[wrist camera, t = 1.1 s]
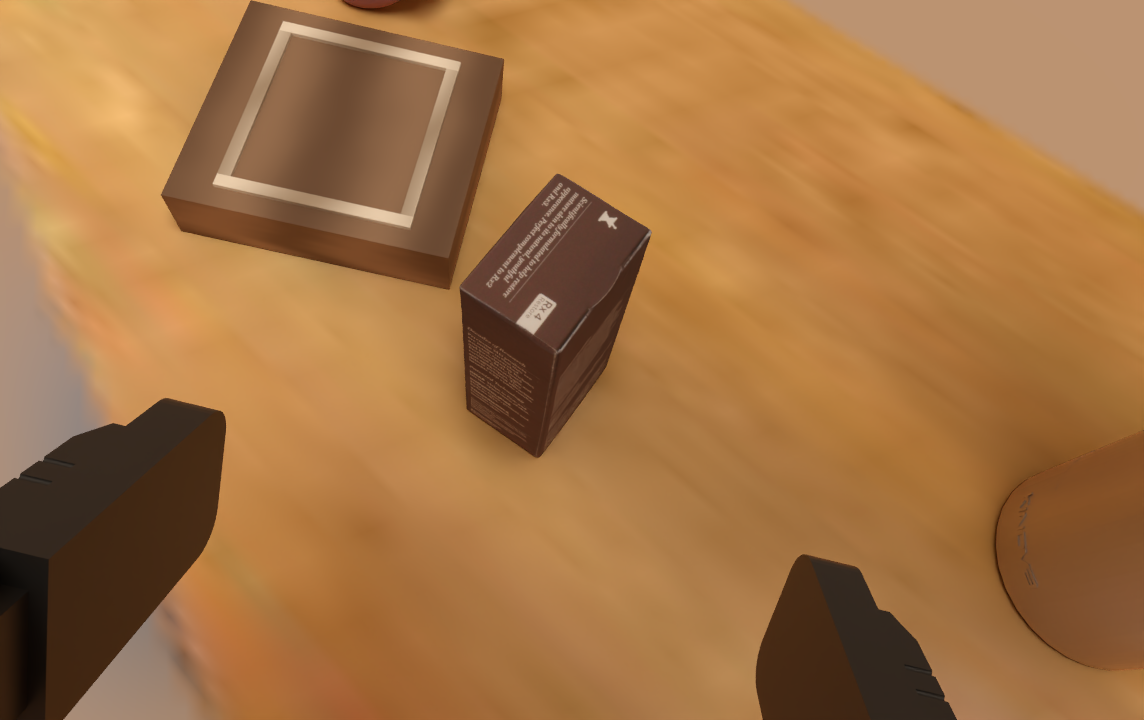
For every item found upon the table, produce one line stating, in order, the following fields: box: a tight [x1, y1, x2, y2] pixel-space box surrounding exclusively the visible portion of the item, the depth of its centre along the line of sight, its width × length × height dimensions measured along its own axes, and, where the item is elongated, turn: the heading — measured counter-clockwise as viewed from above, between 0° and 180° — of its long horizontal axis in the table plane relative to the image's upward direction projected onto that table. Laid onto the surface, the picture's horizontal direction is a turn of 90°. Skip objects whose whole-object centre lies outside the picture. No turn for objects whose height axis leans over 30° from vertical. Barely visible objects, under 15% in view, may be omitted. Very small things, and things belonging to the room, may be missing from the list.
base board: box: [161, 1, 504, 289], centre depth 41 cm, size 13×12×3 cm
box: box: [460, 174, 652, 457], centre depth 33 cm, size 6×4×12 cm
